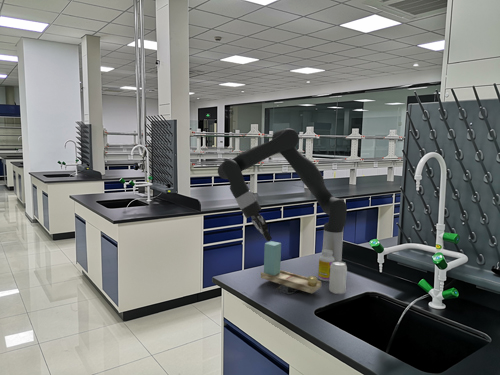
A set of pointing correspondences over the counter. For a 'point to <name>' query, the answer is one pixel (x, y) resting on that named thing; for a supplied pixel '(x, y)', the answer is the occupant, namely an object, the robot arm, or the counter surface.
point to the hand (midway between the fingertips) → (269, 240)
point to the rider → (272, 258)
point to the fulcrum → (286, 289)
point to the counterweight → (312, 281)
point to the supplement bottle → (325, 265)
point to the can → (338, 277)
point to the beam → (291, 281)
